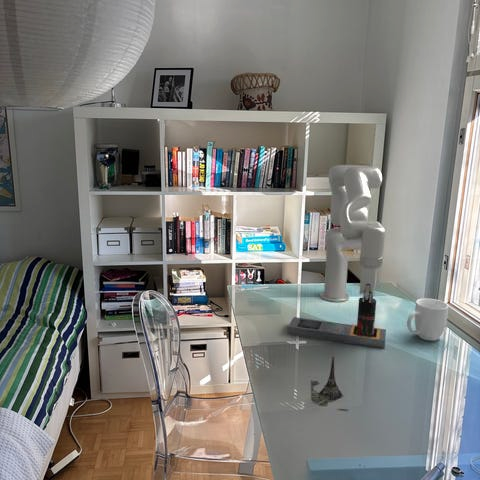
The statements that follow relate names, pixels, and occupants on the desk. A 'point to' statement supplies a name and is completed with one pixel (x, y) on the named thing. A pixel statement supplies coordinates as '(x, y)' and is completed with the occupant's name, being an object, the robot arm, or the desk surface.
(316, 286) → the desk surface
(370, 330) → the deodorant
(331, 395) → the eiffel tower figurine
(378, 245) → the robot arm
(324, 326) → the holder
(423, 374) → the desk surface
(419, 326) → the mug
